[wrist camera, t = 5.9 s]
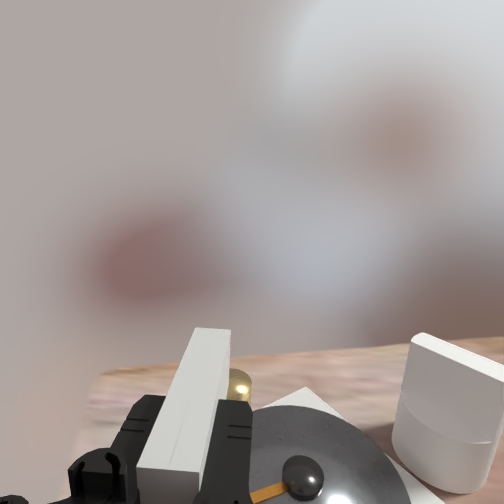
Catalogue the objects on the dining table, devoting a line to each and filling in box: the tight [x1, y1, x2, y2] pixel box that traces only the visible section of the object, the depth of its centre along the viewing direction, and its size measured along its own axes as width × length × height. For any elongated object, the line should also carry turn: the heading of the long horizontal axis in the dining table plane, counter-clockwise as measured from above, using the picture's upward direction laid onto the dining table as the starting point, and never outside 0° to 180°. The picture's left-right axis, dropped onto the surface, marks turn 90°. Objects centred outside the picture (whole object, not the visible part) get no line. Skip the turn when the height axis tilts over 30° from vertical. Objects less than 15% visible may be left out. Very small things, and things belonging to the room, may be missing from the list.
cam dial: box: [226, 369, 411, 504], centre depth 27 cm, size 18×18×13 cm
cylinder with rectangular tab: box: [391, 333, 504, 494], centre depth 33 cm, size 9×9×12 cm
